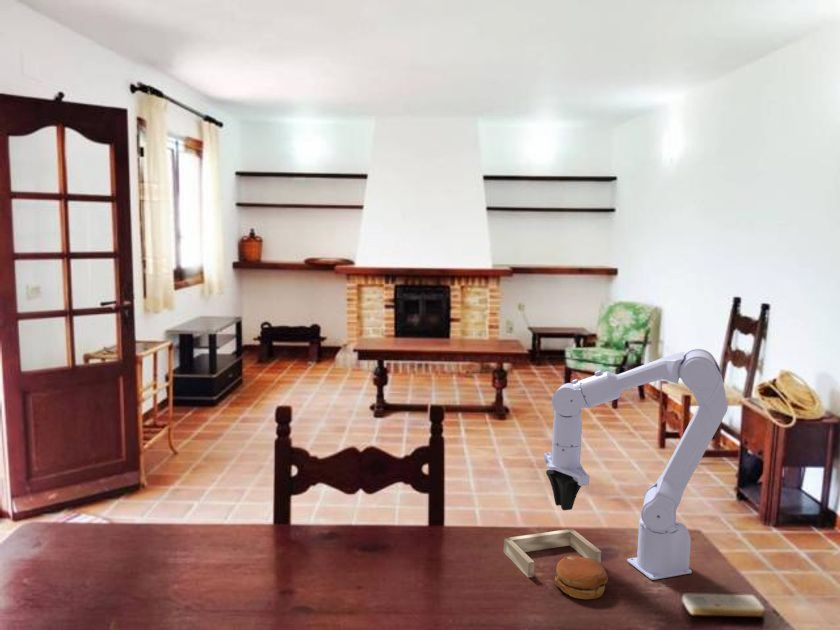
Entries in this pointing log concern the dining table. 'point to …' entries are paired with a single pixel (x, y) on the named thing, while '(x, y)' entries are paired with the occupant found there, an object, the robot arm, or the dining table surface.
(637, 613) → the dining table surface
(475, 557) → the dining table surface
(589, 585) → the burger
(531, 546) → the bay
